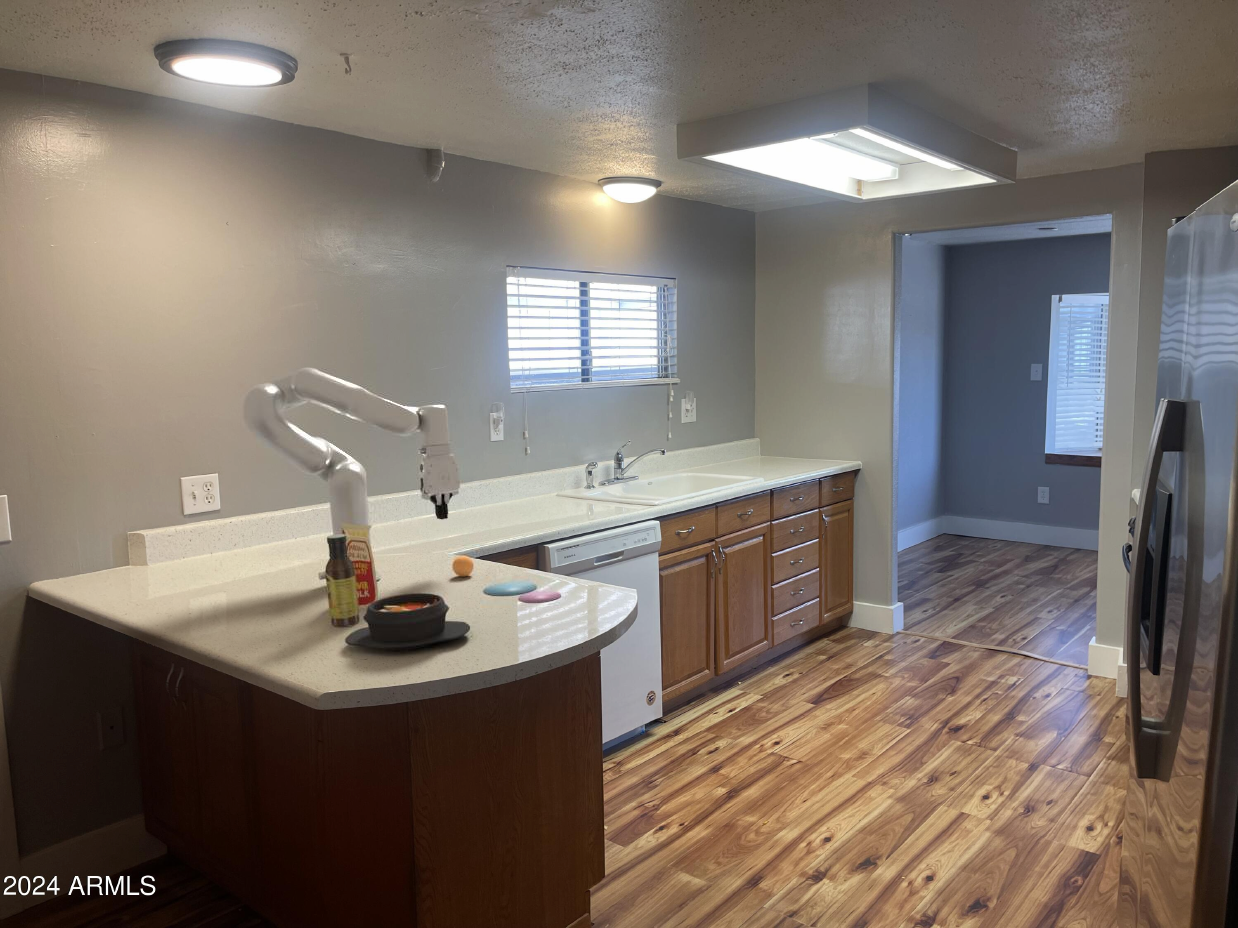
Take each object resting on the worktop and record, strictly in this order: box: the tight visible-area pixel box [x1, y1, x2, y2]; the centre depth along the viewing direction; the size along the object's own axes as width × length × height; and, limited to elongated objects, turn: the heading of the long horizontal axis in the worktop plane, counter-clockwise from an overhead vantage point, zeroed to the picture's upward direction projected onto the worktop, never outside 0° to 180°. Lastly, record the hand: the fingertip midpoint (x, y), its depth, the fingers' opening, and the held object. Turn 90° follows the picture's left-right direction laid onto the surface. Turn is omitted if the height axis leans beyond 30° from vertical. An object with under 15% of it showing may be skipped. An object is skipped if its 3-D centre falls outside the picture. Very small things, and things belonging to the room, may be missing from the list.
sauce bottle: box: [324, 534, 360, 628], centre depth 203 cm, size 6×6×20 cm
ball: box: [451, 555, 474, 577], centre depth 243 cm, size 6×6×6 cm
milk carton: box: [341, 523, 379, 609], centre depth 220 cm, size 9×9×20 cm
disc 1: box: [483, 581, 538, 597], centre depth 227 cm, size 13×13×1 cm
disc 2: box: [518, 590, 562, 604], centre depth 218 cm, size 10×10×1 cm
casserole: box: [344, 592, 471, 651], centre depth 187 cm, size 25×19×8 cm
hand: (442, 518), depth 249 cm, fingers closed
